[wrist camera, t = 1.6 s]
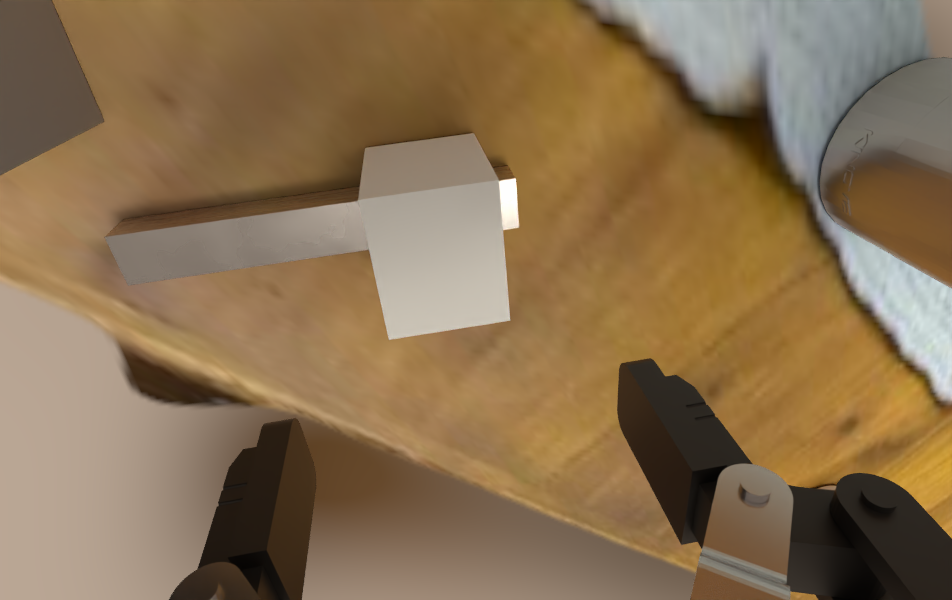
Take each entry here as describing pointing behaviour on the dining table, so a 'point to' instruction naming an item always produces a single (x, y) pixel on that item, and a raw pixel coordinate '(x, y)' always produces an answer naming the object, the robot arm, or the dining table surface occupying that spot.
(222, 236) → the rail
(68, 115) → the grey square housing
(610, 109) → the dining table surface
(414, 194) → the carriage
